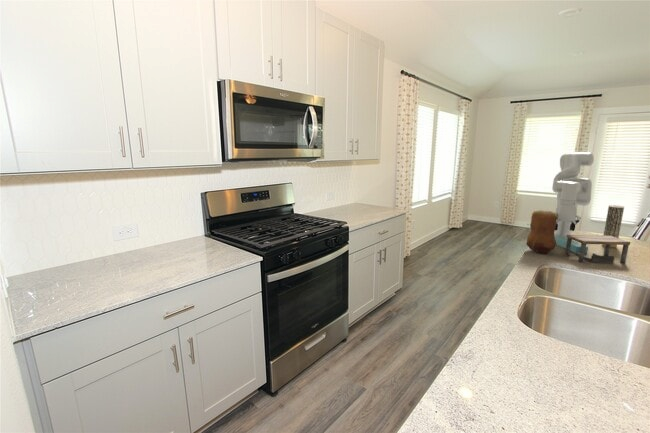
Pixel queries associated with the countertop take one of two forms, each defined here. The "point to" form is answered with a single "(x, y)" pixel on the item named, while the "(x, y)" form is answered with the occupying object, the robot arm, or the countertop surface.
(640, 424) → the countertop surface
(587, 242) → the small wooden table
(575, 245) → the teal u-channel piece
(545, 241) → the butternut squash
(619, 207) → the brown bark cylinder
